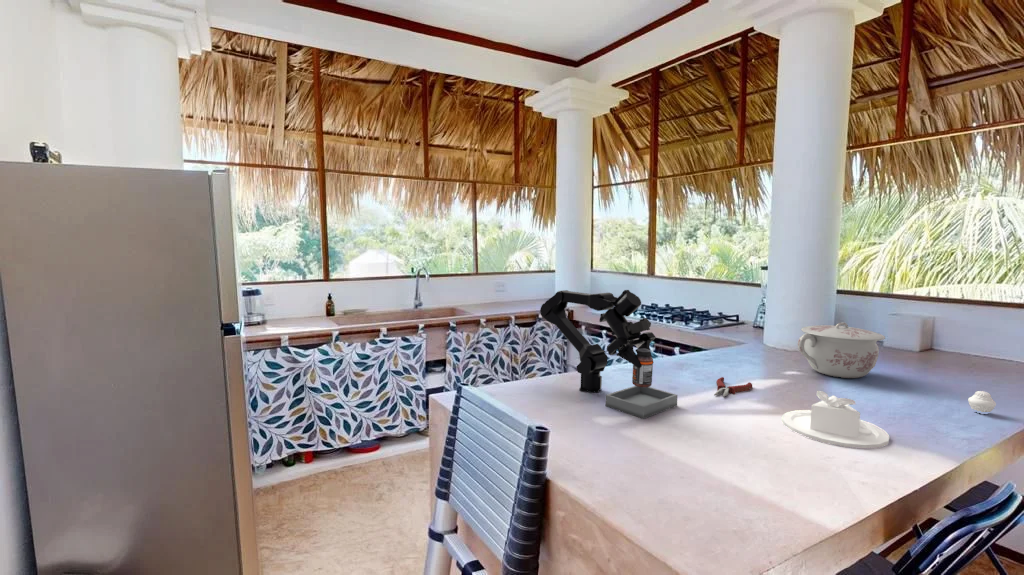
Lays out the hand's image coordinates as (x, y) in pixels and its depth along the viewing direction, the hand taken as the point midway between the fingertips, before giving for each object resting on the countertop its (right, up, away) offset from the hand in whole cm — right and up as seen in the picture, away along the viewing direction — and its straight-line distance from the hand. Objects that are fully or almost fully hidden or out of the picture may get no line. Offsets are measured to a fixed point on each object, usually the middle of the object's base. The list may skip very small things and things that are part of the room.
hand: (646, 365), depth 148 cm
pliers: (+33, -12, +20) cm, 41 cm away
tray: (-1, -13, +2) cm, 13 cm away
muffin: (+103, -15, -1) cm, 104 cm away
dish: (+48, -16, -15) cm, 52 cm away
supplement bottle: (-1, -7, +2) cm, 7 cm away
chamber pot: (+88, -10, +42) cm, 98 cm away
